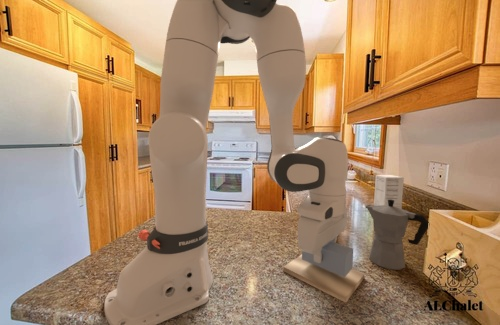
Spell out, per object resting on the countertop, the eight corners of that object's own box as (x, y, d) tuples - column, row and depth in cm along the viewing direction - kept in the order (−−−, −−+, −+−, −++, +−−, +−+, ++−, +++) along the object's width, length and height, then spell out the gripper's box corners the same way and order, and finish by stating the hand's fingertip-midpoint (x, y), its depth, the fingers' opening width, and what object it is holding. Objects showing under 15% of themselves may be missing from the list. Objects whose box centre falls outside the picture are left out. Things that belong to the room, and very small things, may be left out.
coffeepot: (355, 256, 65) (359, 197, 64) (369, 247, 71) (373, 192, 69) (418, 283, 53) (425, 210, 52) (429, 269, 59) (435, 204, 57)
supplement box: (402, 210, 111) (404, 177, 109) (384, 210, 111) (386, 177, 109) (389, 205, 121) (392, 174, 119) (373, 204, 120) (375, 174, 119)
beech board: (345, 302, 46) (346, 297, 46) (283, 271, 57) (283, 266, 57) (364, 278, 55) (364, 273, 55) (306, 254, 66) (306, 250, 66)
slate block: (352, 268, 54) (311, 252, 61) (353, 248, 53) (311, 235, 61) (344, 277, 50) (301, 259, 58) (345, 256, 50) (302, 241, 57)
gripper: (331, 194, 64) (329, 239, 66) (293, 209, 49) (291, 267, 51) (354, 198, 60) (351, 246, 61) (319, 216, 45) (317, 279, 47)
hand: (324, 256), depth 56 cm, fingers closed on slate block, 5 cm apart
